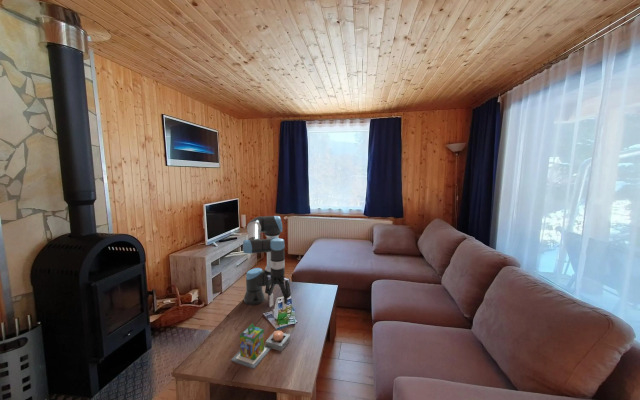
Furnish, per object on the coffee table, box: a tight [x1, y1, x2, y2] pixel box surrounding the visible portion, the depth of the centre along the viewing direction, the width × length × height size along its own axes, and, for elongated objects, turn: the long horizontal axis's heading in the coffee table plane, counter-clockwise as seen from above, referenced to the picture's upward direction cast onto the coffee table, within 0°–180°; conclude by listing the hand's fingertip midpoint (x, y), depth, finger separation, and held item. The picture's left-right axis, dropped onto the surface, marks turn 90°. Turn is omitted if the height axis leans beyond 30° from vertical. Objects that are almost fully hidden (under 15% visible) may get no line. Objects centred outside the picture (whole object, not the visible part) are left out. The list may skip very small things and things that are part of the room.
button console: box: [265, 332, 291, 352], centre depth 136 cm, size 10×10×3 cm
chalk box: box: [239, 323, 265, 360], centre depth 127 cm, size 9×9×15 cm
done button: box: [272, 330, 284, 342], centre depth 136 cm, size 6×6×2 cm
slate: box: [230, 344, 272, 370], centre depth 127 cm, size 15×14×1 cm
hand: (277, 307), depth 134 cm, fingers open, 8 cm apart
